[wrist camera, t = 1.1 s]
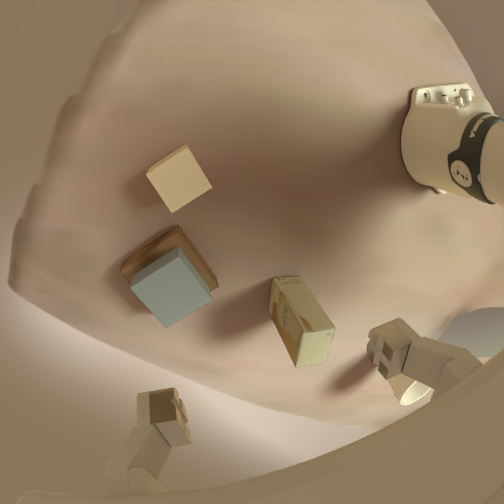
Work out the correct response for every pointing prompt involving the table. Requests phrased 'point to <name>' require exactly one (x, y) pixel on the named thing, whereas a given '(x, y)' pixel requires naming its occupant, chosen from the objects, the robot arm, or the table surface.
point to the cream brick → (178, 178)
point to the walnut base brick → (164, 246)
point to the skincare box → (300, 321)
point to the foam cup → (407, 389)
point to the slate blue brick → (171, 287)
